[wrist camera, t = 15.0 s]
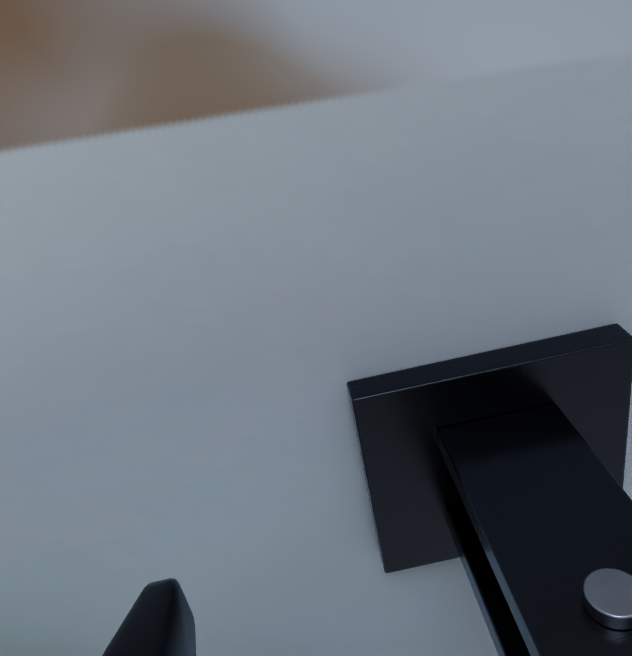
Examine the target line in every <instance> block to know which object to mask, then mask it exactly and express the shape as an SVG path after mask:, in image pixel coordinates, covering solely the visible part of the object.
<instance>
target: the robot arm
mask: <svg viewBox="0 0 632 656" xmlns="http://www.w3.org/2000/svg"><path fill="white" fill-rule="evenodd" d="M102 656H196V639H195V623H194V617H193V614H192V611H191V609H190V607H189V604H188V602H187V600H186V598H185V596H184V593H183V591H182V589H181V587H180V584H179V583H178V581H177V580H176V579H174V578H170V579H165V580H161V581H156V582H152V583H149V584H148V585H147V586H146V587H145V588H144V589H143V591H142V592H141V594H140V595H139V597H138V599H137V600H136V602H135V603H134V605H133V607H132V608H131V610H130V612H129V613H128V615H127V616H126V618H125V620H124V621H123V623H122V624H121V626H120V628H119V629H118V631H117V632H116V634H115V636H114V637H113V639H112V640H111V642H110V644H109V645H108V647H107V649H106V650H105V652H104V653H103V655H102Z"/></svg>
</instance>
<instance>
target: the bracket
mask: <svg viewBox="0 0 632 656" xmlns="http://www.w3.org/2000/svg"><path fill="white" fill-rule="evenodd" d="M631 383H632V336H631V335H630V334H629V333H628V332H627V331H625V330H624V329H623V328H622V327H621V326H620V325H618V324H612V325H607V326H602V327H598V328H593V329H589V330H584V331H579V332H575V333H570V334H566V335H561V336H556V337H552V338H547V339H543V340H538V341H533V342H529V343H524V344H520V345H515V346H510V347H506V348H501V349H497V350H492V351H487V352H483V353H478V354H474V355H469V356H465V357H460V358H455V359H451V360H446V361H442V362H437V363H432V364H428V365H423V366H419V367H414V368H409V369H405V370H400V371H396V372H391V373H386V374H382V375H377V376H373V377H368V378H363V379H359V380H354V381H350V382H348V383H347V387H348V392H349V398H350V403H351V408H352V413H353V418H354V423H355V428H356V433H357V439H358V444H359V449H360V454H361V459H362V464H363V469H364V474H365V480H366V485H367V490H368V495H369V500H370V505H371V510H372V515H373V521H374V526H375V531H376V536H377V541H378V546H379V551H380V555H381V559H382V563H383V567H384V571H385V573H390V572H395V571H399V570H404V569H408V568H413V567H417V566H422V565H427V564H431V563H436V562H440V561H445V560H449V559H454V558H458V557H460V558H461V561H462V563H463V566H464V568H465V571H466V574H467V576H468V579H469V581H470V584H471V586H472V589H473V591H474V594H475V596H476V599H477V601H478V604H479V607H480V609H481V612H482V614H483V617H484V619H485V622H486V624H487V627H488V629H489V632H490V635H491V637H492V640H493V642H494V645H495V647H496V650H497V652H498V655H499V656H632V500H631V499H630V497H629V496H628V495H627V493H626V492H625V491H624V490H623V480H624V468H625V456H626V444H627V432H628V420H629V408H630V395H631Z"/></svg>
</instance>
